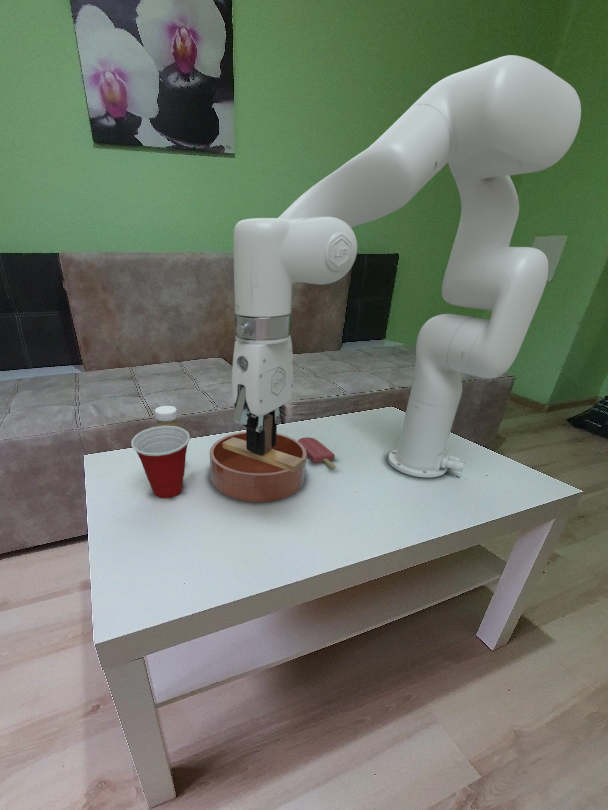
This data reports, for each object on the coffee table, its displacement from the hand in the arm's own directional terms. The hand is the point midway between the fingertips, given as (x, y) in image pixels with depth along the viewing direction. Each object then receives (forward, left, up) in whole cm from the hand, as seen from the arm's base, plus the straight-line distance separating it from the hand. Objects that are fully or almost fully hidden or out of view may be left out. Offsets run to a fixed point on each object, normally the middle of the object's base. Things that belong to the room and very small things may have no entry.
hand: (261, 447), depth 62 cm
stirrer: (0, 0, -2) cm, 2 cm away
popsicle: (+3, -29, -15) cm, 32 cm away
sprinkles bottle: (+27, -5, -15) cm, 31 cm away
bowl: (+9, -13, -15) cm, 21 cm away
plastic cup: (+20, +3, -15) cm, 25 cm away
